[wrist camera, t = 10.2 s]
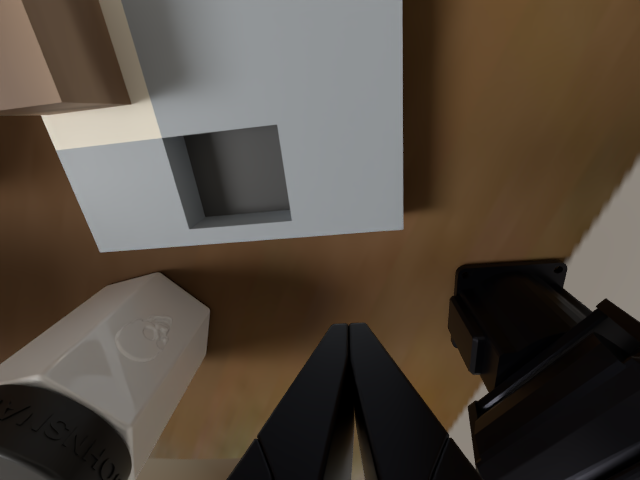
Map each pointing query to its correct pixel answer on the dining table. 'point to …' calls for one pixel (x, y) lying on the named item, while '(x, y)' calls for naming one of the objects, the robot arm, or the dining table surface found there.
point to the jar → (101, 383)
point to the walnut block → (57, 58)
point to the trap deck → (242, 123)
